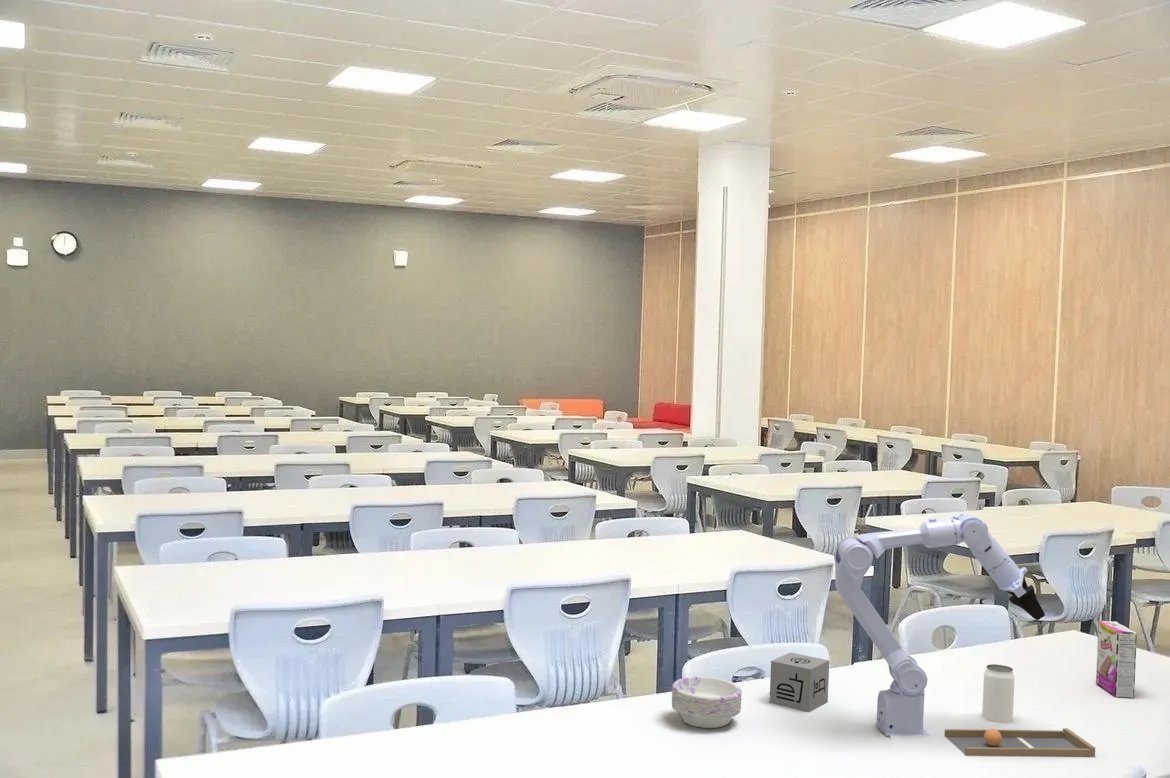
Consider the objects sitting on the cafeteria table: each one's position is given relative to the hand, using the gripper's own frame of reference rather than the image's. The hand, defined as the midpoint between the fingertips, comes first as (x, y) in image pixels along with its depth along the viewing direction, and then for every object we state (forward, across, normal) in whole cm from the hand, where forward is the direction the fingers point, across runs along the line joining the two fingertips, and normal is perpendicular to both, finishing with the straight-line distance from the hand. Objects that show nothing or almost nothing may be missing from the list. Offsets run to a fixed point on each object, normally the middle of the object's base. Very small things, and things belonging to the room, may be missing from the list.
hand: (1036, 611), depth 238 cm
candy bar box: (+42, +40, -1) cm, 58 cm away
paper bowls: (-25, -10, +70) cm, 75 cm away
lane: (+17, -10, +21) cm, 29 cm away
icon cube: (-10, +9, +56) cm, 58 cm away
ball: (+14, -11, +24) cm, 30 cm away
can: (+18, +8, +22) cm, 30 cm away
